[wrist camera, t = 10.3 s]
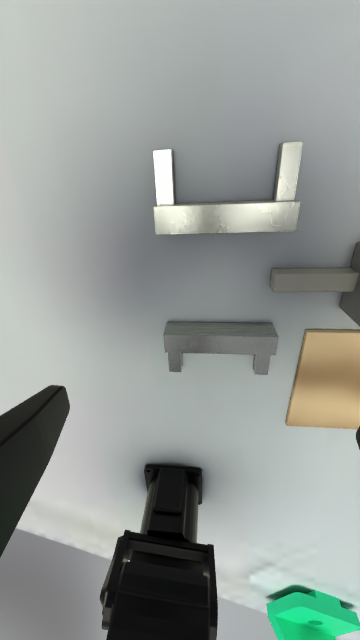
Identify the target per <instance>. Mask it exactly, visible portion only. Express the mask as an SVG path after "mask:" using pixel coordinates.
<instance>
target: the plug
mask: <svg viewBox="0 0 360 640" xmlns="http://www.w3.org/2000/svg"><path fill="white" fill-rule="evenodd" d="M270 287H271V288H272V290H273V292H343V295H342V299H341V302H340V306H339V307H340V308H341V309H342V310H343V311H344V312H345V313H346V314H347V315H348V316H349V317H350V318H351V319H352V320H354V321H355V322H356V323H357V324H358V325H359V326H360V242H357V244H356V247H355V251H354V255H353V258H352V262H351V266H350V268H291V269H272V272H271V280H270Z"/></svg>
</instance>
